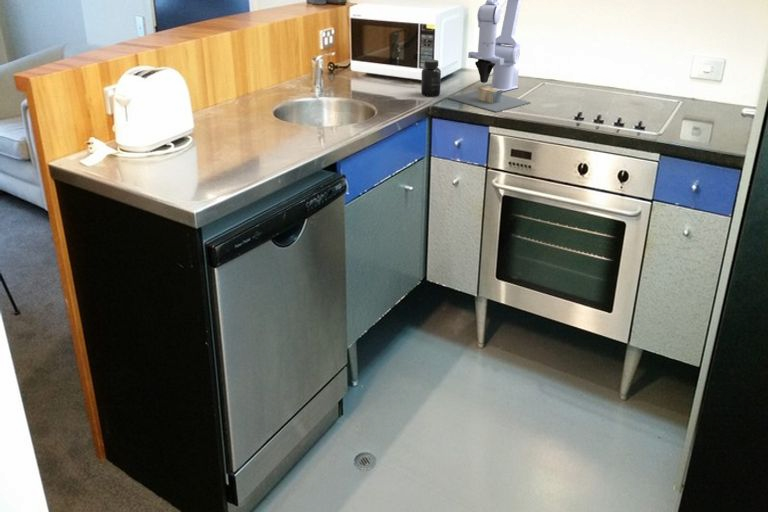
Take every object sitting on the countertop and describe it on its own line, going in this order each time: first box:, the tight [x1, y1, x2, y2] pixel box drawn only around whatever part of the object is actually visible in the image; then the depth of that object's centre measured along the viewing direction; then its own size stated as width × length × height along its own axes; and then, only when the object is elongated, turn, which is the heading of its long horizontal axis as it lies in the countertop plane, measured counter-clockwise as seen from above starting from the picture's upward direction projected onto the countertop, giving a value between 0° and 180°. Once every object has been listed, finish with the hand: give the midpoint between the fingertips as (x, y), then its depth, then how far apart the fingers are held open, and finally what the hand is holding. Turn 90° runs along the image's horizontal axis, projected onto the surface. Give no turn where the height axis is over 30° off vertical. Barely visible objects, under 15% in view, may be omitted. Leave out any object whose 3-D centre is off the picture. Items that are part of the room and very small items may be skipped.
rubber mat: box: [448, 90, 531, 113], centre depth 248 cm, size 18×22×1 cm
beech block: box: [478, 85, 503, 104], centre depth 246 cm, size 4×4×7 cm
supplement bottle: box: [420, 59, 442, 98], centre depth 252 cm, size 7×7×12 cm
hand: (483, 82), depth 247 cm, fingers closed
